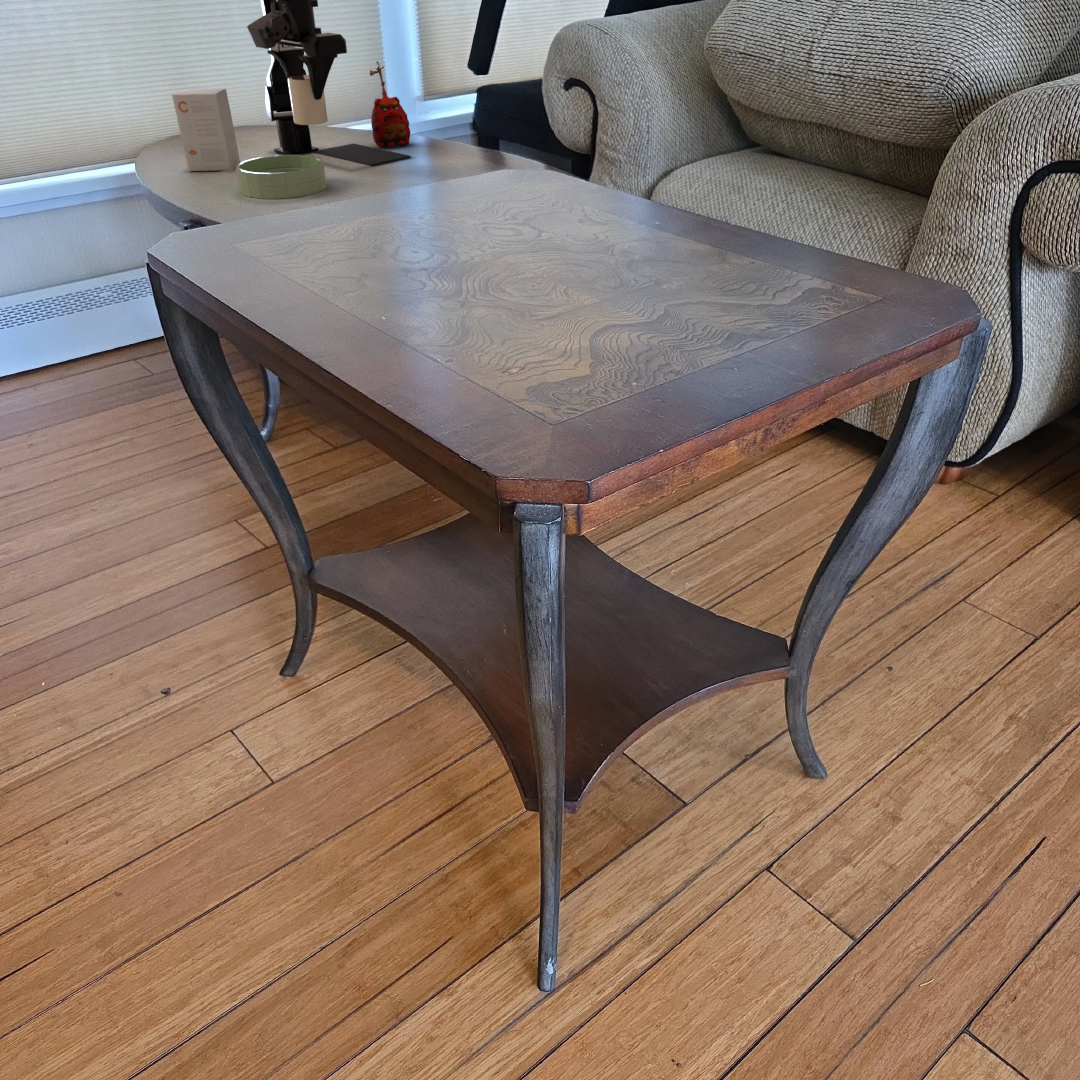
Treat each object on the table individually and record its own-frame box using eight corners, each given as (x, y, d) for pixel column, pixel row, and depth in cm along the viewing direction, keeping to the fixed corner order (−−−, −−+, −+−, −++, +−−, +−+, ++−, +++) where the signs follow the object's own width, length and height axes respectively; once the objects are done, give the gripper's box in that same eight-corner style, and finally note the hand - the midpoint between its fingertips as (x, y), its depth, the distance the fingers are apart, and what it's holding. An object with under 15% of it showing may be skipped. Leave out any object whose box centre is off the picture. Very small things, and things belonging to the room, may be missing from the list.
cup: (287, 122, 164) (280, 77, 160) (315, 117, 167) (309, 73, 163) (306, 126, 160) (300, 81, 156) (334, 121, 164) (328, 77, 160)
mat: (295, 157, 181) (294, 154, 181) (353, 145, 189) (353, 143, 189) (351, 170, 171) (351, 168, 170) (410, 157, 179) (410, 155, 179)
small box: (241, 163, 177) (227, 87, 170) (231, 171, 172) (216, 93, 165) (198, 164, 177) (182, 88, 170) (187, 171, 172) (171, 94, 165)
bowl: (224, 193, 158) (219, 165, 156) (295, 178, 167) (291, 151, 164) (271, 207, 150) (266, 178, 147) (343, 190, 158) (340, 162, 156)
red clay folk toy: (380, 150, 185) (372, 66, 176) (367, 144, 190) (358, 62, 182) (416, 146, 188) (409, 62, 180) (402, 140, 193) (395, 59, 185)
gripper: (219, -7, 154) (237, 97, 162) (282, -1, 143) (298, 110, 152) (278, -12, 160) (292, 89, 169) (342, -6, 149) (354, 101, 158)
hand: (307, 97), depth 162 cm, fingers closed on cup, 6 cm apart
